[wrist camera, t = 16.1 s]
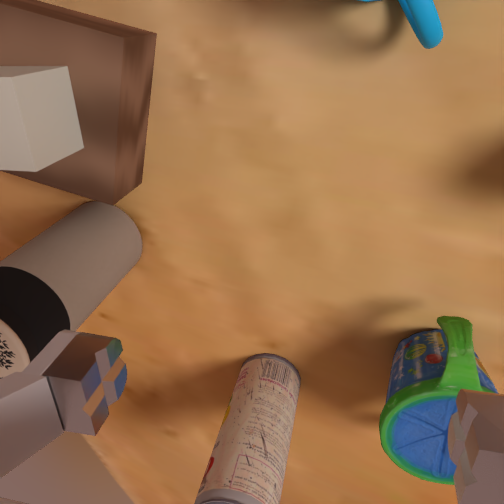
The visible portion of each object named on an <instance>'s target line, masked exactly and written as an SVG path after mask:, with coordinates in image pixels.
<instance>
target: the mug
mask: <svg viewBox="0 0 504 504" xmlns="http://www.w3.org/2000/svg"><path fill="white" fill-rule="evenodd" d="M358 1H363V2H373V1H380V0H358ZM398 1H399V3H400V5H401V7H402V9H403V11H404V13H405V15H406V17H407V19H408V21H409V23H410V25H411V27H412V29H413V31H414V32H415V34H416V36H417V38H418V39H419V41H420V43H421V44H422V45H423V46H424V48H427V49H430V48H433V47H435V46H437V45H438V44H439V43H440V42H441V40H442V38H443V30H442V26H441V22H440V19H439V16H438V13H437V10H436V8H435V5H434V3H433V0H398Z"/></svg>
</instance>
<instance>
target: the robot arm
mask: <svg viewBox="0 0 504 504" xmlns="http://www.w3.org/2000/svg"><path fill="white" fill-rule="evenodd" d="M122 351H123V349H122V345H121V341H120V340H119V339H117V338H113V337H107V336H101V335H95V334H90V333H84V332H82V333H81V332H76V331H70V330H63V331H60V332H59V333H58V334H57V335H56V336H55V337H54V338H53V339H52V340H51V341H50V342H49V343H48V344H47V345H46V346H45V348H44V349H43V350H42V351H41V352H40V353H39V354H38V355H37V356H36V357H35V358H34V359H33V360H32V362H31V363H30V364H29V365H28V366H27V367H26V368H25V369H24V370H23V371H22V372H14V373H12V374H10V375H8V376H6V377H3V378H1V379H0V478H2V477H3V476H5V475H6V474H7V473H9V472H10V471H12V470H13V469H14V468H16V467H17V466H18V465H20V464H21V463H23V462H24V461H25V460H27V459H28V458H29V457H31V456H32V455H33V454H35V453H36V452H38V451H39V450H41V449H42V448H43V447H45V446H46V445H47V444H49V443H50V442H52V441H53V440H54V439H56V438H57V437H59V436H60V435H61V434H62V433H64V431H69V432H75V433H81V434H87V435H93V436H96V434H97V433H98V431H99V430H100V428H101V426H102V425H103V423H104V422H105V420H106V418H107V417H108V415H109V411H108V406H109V405H111V404H112V403H114V402H116V401H117V400H118V399H119V397H120V396H121V394H122V392H123V390H124V387H125V383H126V380H127V369H126V364H125V362H124V361H123V360H122V359H121V358H120V357H119V355H120V354H121V352H122ZM456 405H457V410H458V411H457V412H456V413H454V414H452V415H451V419H450V422H449V427H448V450H449V456H450V459H451V460H452V462H453V463H454V464H455V465H456V466H457V467H456V470H455V474H454V477H453V478H454V484H455V489H456V494H457V500H458V504H504V394H497V393H490V392H483V391H475V390H468V389H461V390H460V391H459V392H458V395H457V398H456ZM0 504H27V503H23V502H18V501H14V500H10V499H6V498H1V497H0Z"/></svg>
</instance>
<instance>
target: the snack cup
mask: <svg viewBox="0 0 504 504" xmlns="http://www.w3.org/2000/svg"><path fill="white" fill-rule="evenodd" d="M437 323H438V324H439V325H440V327H441V328H442V330H441V329H435V330H432V331H423V332H420V333H416V334H413V335H411V336H410V337H409V338H407V339H403V340H402V341H401V342H400V343H399V345H398V348H397V350H396V352H395V354H394V358H393V362H392V367H391V374H390V379H389V385H388V392H387V398H386V404H385V406H384V408H383V410H382V413H381V415H380V422H379V431H380V439H381V445H382V448H383V450H384V452H385V453H386V454H387V455H388V456H389V458H390V459H391V460H392V461H393V462H394V463H395V464H396V465H397V466H398V467H400V468H401V469H403V470H404V471H406V472H408V473H409V474H411V475H413V476H416V477H418V478H420V479H422V480H426V481H430V482H435V483H441V484H450V485H455V484H454V478H453V477H454V474H455V470H456V467H457V466H456V465H455V464H454V463H453V462H452V460H451V459H450V456H449V450H448V427H449V422H450V419H451V415H452V414H454V413H456V412H457V411H458V410H457V405H456V398H457V395H458V392H459V391H460V390H461V389H468V390H475V391H483V392H490V393H497V394H499V393H498V392H497V390H496V388H495V386H494V384H493V382H492V380H491V379H490V377H489V375H488V374H487V372H486V370H485V368H484V367H483V365H482V363H481V362H480V360H479V359H478V356H477V355H476V353H475V352H474V349H473V342H472V324H471V323H470V322H469V320H467V319H464V318H461V317H451V316H442V317H438V319H437Z"/></svg>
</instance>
